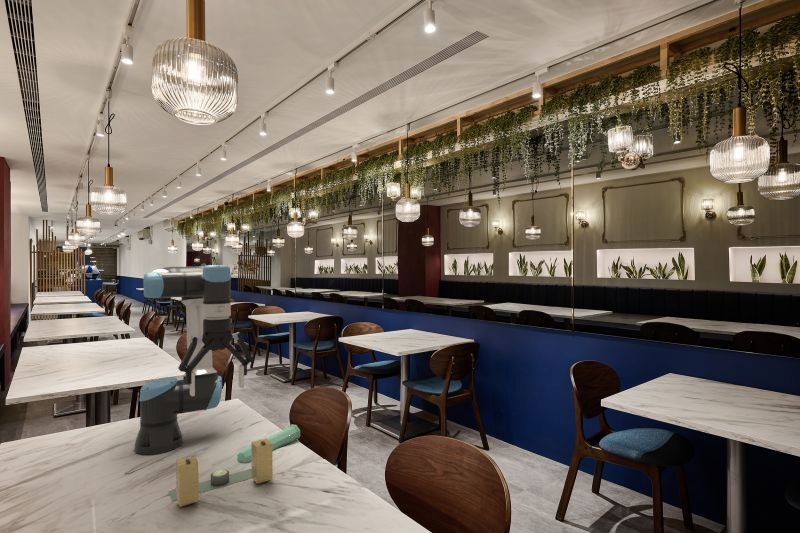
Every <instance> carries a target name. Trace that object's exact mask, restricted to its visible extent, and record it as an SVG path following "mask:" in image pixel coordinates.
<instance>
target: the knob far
mask: <svg viewBox="0 0 800 533" xmlns="http://www.w3.org/2000/svg"><path fill="white" fill-rule="evenodd" d="M250 446H251V447H252V461H251V469H252V478H251V480H253V481H254V483H256V484H264V483H266V481H271V480H273V478H274V476H273V474H274V473H273V467H274V466H273V450H272V443H271V442H270V441H269V440H268V439H266V438H263V439H259V440H256V441H251V445H250Z"/></svg>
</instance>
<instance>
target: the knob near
mask: <svg viewBox="0 0 800 533" xmlns="http://www.w3.org/2000/svg"><path fill="white" fill-rule="evenodd" d="M199 474H200V473H199V460H198V459H197V457H196V455H193V456H189V457H184V458H180V459H176V460H175V490H176V500H175V501H176V502H177V505H178V506H179V508H180V507H183V506H184V507H189V506H191V505H192V504H193V503H197V502H200V501H199V500H200V498H199V495H200V493H199V483H200V482H199V481H200V480H199V478H200V477H199Z"/></svg>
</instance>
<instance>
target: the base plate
mask: <svg viewBox="0 0 800 533" xmlns="http://www.w3.org/2000/svg"><path fill="white" fill-rule="evenodd" d="M250 479H251V480H252V468H248V469H246V470H242V471H237V472H234V473H231V474H230V471H229V470H227V469H218V470H216V471H213V472H212V473H211V474H210V479H209V480H206V481H205V480H204V481H201V482H199V494H202V493H205V492H208V491H213V490H217V489H220V488H223V487H227V486H229V485H234V484H236V483H239V482H244V481H246V480H247V481H248V480H250ZM168 493H169V494H168V495H169V497H170V499H171V501H172V502H175V501H177V500H176V489H172V490H169V491H168Z"/></svg>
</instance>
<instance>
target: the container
mask: <svg viewBox="0 0 800 533" xmlns="http://www.w3.org/2000/svg"><path fill="white" fill-rule="evenodd" d="M289 435H290V436H289ZM300 437H301V430H300V428H299V427H298V425H297V424H289V426H288V427H287V428H285V429H283V430H281V431H278V432H277V433H274V434H272V435H270V436H268V437H266V438H265V439H268V440H269V441H270V442H271V443H272V451H274V450H278V449H280V448H282V447H284V446H285V445H288V444H289V443H292V442H294V441H298V439H300ZM236 460H237V462H239V463H243V464H248V463H250V462H252V447H251V445H249V446H247V447H245V448H243V449H241V451H240V452H238V454H237V459H236Z"/></svg>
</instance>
